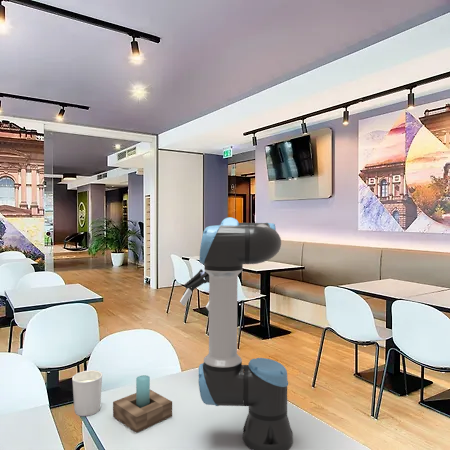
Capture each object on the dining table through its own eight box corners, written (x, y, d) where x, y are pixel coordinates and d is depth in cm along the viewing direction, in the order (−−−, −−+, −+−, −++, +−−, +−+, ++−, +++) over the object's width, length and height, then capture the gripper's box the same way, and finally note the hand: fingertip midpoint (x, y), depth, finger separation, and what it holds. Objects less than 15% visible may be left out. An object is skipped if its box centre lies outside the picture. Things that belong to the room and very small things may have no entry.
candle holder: (92, 419, 128) (92, 383, 128) (66, 415, 130) (66, 380, 130) (107, 404, 138) (107, 371, 138) (82, 401, 140) (82, 369, 139)
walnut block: (172, 416, 130) (172, 401, 130) (136, 433, 120) (136, 417, 120) (147, 401, 140) (147, 388, 140) (113, 416, 130) (113, 401, 130)
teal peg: (152, 413, 130) (152, 378, 130) (141, 418, 127) (141, 382, 127) (144, 408, 133) (144, 374, 133) (133, 413, 130) (133, 378, 130)
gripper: (248, 272, 154) (224, 317, 143) (201, 266, 169) (176, 306, 158) (240, 260, 150) (215, 305, 138) (193, 255, 165) (167, 296, 154)
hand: (194, 306), depth 148 cm, fingers open, 13 cm apart
